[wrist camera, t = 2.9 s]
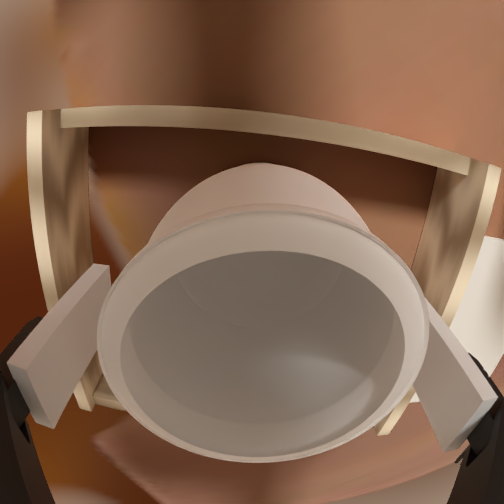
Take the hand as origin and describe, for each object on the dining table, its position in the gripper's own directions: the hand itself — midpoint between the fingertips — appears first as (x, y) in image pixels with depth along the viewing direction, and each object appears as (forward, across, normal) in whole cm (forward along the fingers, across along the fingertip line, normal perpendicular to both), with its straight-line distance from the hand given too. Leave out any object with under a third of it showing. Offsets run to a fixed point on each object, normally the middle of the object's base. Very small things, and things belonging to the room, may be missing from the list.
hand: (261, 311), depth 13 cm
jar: (+11, 0, 0) cm, 11 cm away
